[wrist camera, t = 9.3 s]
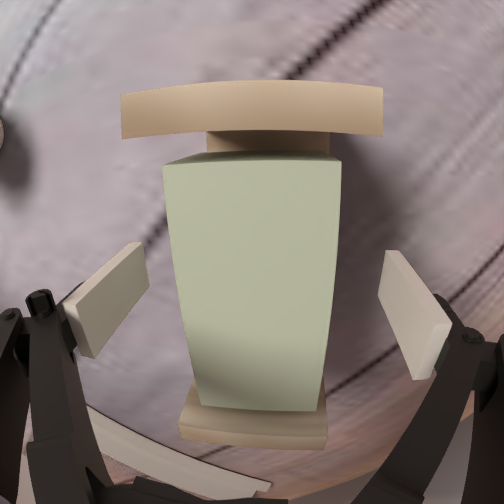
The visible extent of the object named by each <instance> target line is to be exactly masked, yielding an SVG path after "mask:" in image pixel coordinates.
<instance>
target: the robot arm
mask: <svg viewBox="0 0 504 504" xmlns="http://www.w3.org/2000/svg"><path fill="white" fill-rule="evenodd" d="M148 287H149V280H148V274H147V268H146V262H145V256H144V249H143V243H142V242H130V243H129V244H128V245H127V246H126V247H124V248H123V249H122V250H121V251H120V252H118V253H117V254H116V255H115V256H114V257H113V258H111V259H110V260H109V261H108V262H107V263H106V264H104V265H103V266H102V267H101V268H100V269H99V270H97V271H96V272H95V273H94V274H93V275H92V276H91V277H90V278H88V279H87V280H86V281H84V282H82V283H81V284H79V285H78V286H77V287H75V288H74V289H73V291H71V292H70V293H69V295H67V296H66V297H65V298H63V299H62V300H61V301H60V302H59V303H58V304H57V305H55V302H54V299H53V296H52V293H51V291H50V290H48V289H41V290H37V291H35V292H33V293H31V294H29V295H28V296H27V297H26V300H25V301H26V304H27V307H28V309H29V312H30V315H31V317H24V318H23V316H22V314H21V311H20V309H18V308H11V309H10V308H9V309H7V310H5V311H4V312H3V313H1V314H0V504H16V499H17V495H18V486H19V473H20V461H21V453H22V445H23V438H24V431H25V425H26V419H27V414H28V408H29V403H30V405H31V418H32V428H33V437H34V441H32V442H28V443H27V445H26V451H27V459H28V465H29V471H30V477H31V482H32V487H33V492H34V496H35V501H36V504H288V499H264V498H251V497H247V498H238V499H227V500H213V501H208V500H203V499H201V498H198V497H196V496H193V495H191V494H189V493H187V492H184V491H182V490H180V489H178V488H176V487H173V486H171V485H169V484H164V483H160V482H156V481H152V480H149V479H145V478H141V477H138V476H136V478H135V480H134V483H133V484H118V485H114V483H113V482H112V480H111V478H110V476H109V474H108V472H107V469H106V466H105V464H104V461H103V458H102V455H101V452H100V450H99V447H98V444H97V440H96V437H95V434H94V431H93V428H92V424H91V421H90V417H89V414H88V410H87V406H86V402H85V398H84V394H83V390H82V386H81V381H80V377H79V372H78V367H77V362H76V357H75V354H74V352H73V350H74V348H75V347H76V346H78V349H79V351H80V354H81V356H85V357H89V358H93V359H95V358H96V356H97V355H98V353H99V352H100V351H101V349H102V348H103V347H104V345H105V344H106V342H107V341H108V340H109V338H110V337H111V336H112V334H113V333H114V332H115V330H116V329H117V328H118V326H119V325H120V324H121V322H122V321H123V320H124V318H125V317H126V316H127V314H128V313H129V312H130V311H131V309H132V308H133V307H134V305H135V304H136V303H137V301H138V300H139V299H140V298H141V296H142V295H143V294H144V293H145V291H146V290H147V289H148ZM377 296H378V298H379V300H380V302H381V305H382V307H383V309H384V311H385V313H386V316H387V318H388V320H389V323H390V325H391V327H392V329H393V332H394V334H395V336H396V339H397V341H398V344H399V346H400V348H401V351H402V353H403V356H404V358H405V361H406V363H407V366H408V369H409V371H410V374H411V376H412V379H413V380H422V379H429V378H430V376H431V374H432V372H433V369H434V368H435V370H436V372H437V376H436V378H435V380H434V382H433V384H432V386H431V387H430V389H429V391H428V393H427V395H426V397H425V399H424V400H423V402H422V404H421V406H420V407H419V409H418V411H417V413H416V414H415V416H414V418H413V419H412V421H411V423H410V424H409V426H408V428H407V429H406V431H405V432H404V434H403V435H402V437H401V438H400V440H399V441H398V443H397V444H396V446H395V447H394V449H393V450H392V452H391V453H390V455H389V456H388V457H387V459H386V460H385V462H384V463H383V464H382V466H381V467H380V468H379V470H378V471H377V472H376V473H375V475H374V476H373V477H372V479H371V480H370V481H369V482H368V483H367V485H366V486H365V487H364V489H363V490H362V491H361V492H360V493H359V495H358V496H357V497H356V498H355V499H354V500H353V502H352V503H351V504H422V503H423V500H424V496H423V494H424V492H425V490H426V488H427V486H428V485H429V483H430V481H431V479H432V478H433V476H434V474H435V472H436V470H437V468H438V466H439V464H440V462H441V461H442V458H443V457H444V455H445V452H446V450H447V448H448V446H449V444H450V442H451V440H452V437H453V435H454V433H455V431H456V428H457V426H458V423H459V421H460V419H461V416H462V413H463V411H464V408H465V406H466V403H467V400H468V397H469V394H470V392H471V390H475V399H474V419H473V432H472V442H471V451H470V458H469V464H468V471H467V476H466V482H465V487H464V492H463V496H462V501H461V504H504V334H502V335H501V336H500V338H499V341H498V343H493V342H486V341H485V339H484V337H483V335H482V334H481V333H480V332H479V331H477V330H475V329H473V328H469V327H465V326H464V325H463V324H462V322H461V321H460V319H459V318H458V317H457V315H456V314H455V312H454V311H453V310H452V308H451V307H450V306H449V304H448V303H447V301H446V300H445V299H444V298H442V297H441V296H439V295H438V294H432V293H431V292H430V291H429V289H428V288H427V287H426V285H425V284H424V282H423V281H422V280H421V278H420V277H419V276H418V275H417V273H416V272H415V271H414V269H413V268H412V267H411V265H410V264H409V263H408V262H407V260H406V259H405V258H404V257H403V255H402V254H401V253H400V252H399V250H386V251H385V257H384V263H383V269H382V274H381V280H380V285H379V290H378V295H377Z"/></svg>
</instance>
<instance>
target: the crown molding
mask: <svg viewBox="0 0 504 504" xmlns="http://www.w3.org/2000/svg"><path fill="white" fill-rule="evenodd" d="M86 406H87V405H86ZM87 410H88V414H89V417H90V421H91V424H92V428H93V431H94V434H95V437H96V440H97V444H98V447H99V450H100V452H102V453H104V454H106V455H108V456H109V457H111V458H113V459H115V460H117V461H119V462H121V463H123V464H125V465H127V466H129V467H131V468H134V469H136V470H138V471H140V472H142V473H144V474H147V475H149V476H151V477H154V478H156V479H158V480H161V481H163V482H166V483H168V484H171V485H174V486H176V487H179V488H182V489H184V490H187V491H190V492H193V493H196V494H199V495H202V496H205V497H209V498H212V499H215V500H227V499H238V498H247V497H251V498H252V496H253V495H254V493H255V492H256V491H257V490H259V491H263V492H267V491H268V489H269V487H270V485H271V482H267V481H263V480H259V479H255V478H251V477H248V476H245V475H241V474H238V473H235V472H231V471H228V470H225V469H222V468H219V467H216V466H213V465H210V464H208V463H205V462H202V461H200V460H197V459H194V458H192V457H189V456H187V455H184V454H182V453H179V452H177V451H174V450H172V449H170V448H168V447H165V446H163V445H161V444H159V443H156V442H154V441H152V440H150V439H148V438H146V437H144V436H142V435H140V434H138V433H136V432H134V431H132V430H130V429H128V428H126V427H124V426H122V425H120V424H118V423H117V422H115V421H113V420H111V419H109V418H108V417H106V416H104V415H102V414H101V413H99V412H97V411H96V410H94V409H92V408H91V407H89V406H87Z"/></svg>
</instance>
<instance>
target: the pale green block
mask: <svg viewBox="0 0 504 504" xmlns="http://www.w3.org/2000/svg"><path fill="white" fill-rule="evenodd" d="M162 172H163V183H164V193H165V202H166V211H167V220H168V228H169V236H170V243H171V250H172V257H173V264H174V271H175V277H176V283H177V290H178V296H179V301H180V307H181V313H182V318H183V324H184V329H185V334H186V339H187V344H188V349H189V354H190V358H191V363H192V368H193V372H194V377H195V381H196V386H197V390H198V394H199V398H200V402H201V405H205V406H214V407H224V408H236V409H249V410H268V411H316V408H317V402H318V397H319V391H320V386H321V380H322V374H323V367H324V361H325V354H326V348H327V341H328V333H329V326H330V318H331V309H332V300H333V291H334V281H335V271H336V259H337V247H338V232H339V216H340V194H341V161H340V160H338V159H336V158H335V157H333V156H331V155H330V154H328V153H326V152H325V151H317V150H252V151H225V152H206V153H198V154H195V155H192V156H189V157H186V158H183V159H180V160H177V161H174V162H171V163H168V164H165V165H162Z"/></svg>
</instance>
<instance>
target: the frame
mask: <svg viewBox="0 0 504 504" xmlns="http://www.w3.org/2000/svg"><path fill="white" fill-rule="evenodd" d="M121 129H122V139H129V138H137V137H145V136H154V135H164V134H176V133H189V132H205V131H206V135H207V152H225V151H252V150H317V151H325V152H326V153H328V154H330V132H336V133H349V134H361V135H371V136H380V137H382V134H383V88H379V87H372V86H364V85H355V84H346V83H334V82H321V81H301V80H244V81H224V82H210V83H198V84H189V85H180V86H172V87H165V88H158V89H151V90H145V91H139V92H134V93H129V94H123V95H121ZM177 425H178V428H179V431H180V434H181V437H182V439H188V440H193V441H200V442H206V443H213V444H221V445H229V446H239V447H250V448H263V449H284V450H324V447H325V444H326V441H327V438H328V427H327V413H326V400H325V389H324V378H323V374H322V380H321V386H320V391H319V397H318V402H317V408H316V411H268V410H249V409H236V408H224V407H214V406H205V405H201V402H200V398H199V394H198V390H197V386H196V381H195V377H194V379H193V382H192V385H191V387H190V390H189V393H188V396H187V399H186V402H185V404H184V407H183V410H182V413H181V416H180V419H179V421H178V424H177Z"/></svg>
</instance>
